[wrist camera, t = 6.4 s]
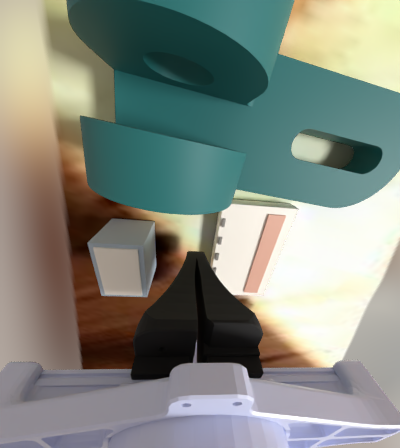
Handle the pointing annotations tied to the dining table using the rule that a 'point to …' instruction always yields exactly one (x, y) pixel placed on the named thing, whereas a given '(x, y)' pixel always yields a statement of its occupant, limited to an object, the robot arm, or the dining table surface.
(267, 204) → the spiral notebook
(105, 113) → the dining table surface
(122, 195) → the bracket
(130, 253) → the stub
